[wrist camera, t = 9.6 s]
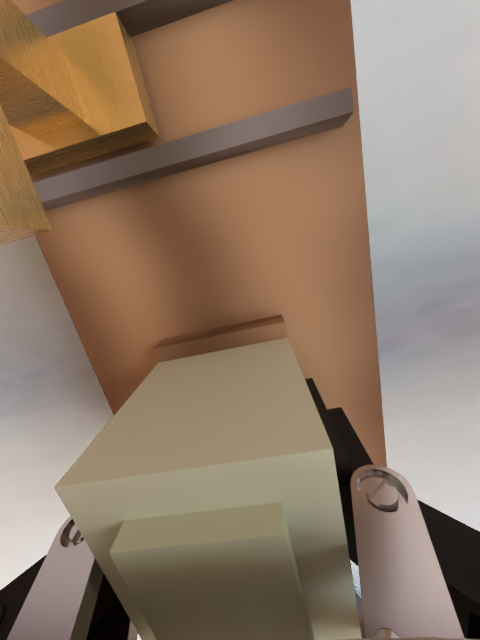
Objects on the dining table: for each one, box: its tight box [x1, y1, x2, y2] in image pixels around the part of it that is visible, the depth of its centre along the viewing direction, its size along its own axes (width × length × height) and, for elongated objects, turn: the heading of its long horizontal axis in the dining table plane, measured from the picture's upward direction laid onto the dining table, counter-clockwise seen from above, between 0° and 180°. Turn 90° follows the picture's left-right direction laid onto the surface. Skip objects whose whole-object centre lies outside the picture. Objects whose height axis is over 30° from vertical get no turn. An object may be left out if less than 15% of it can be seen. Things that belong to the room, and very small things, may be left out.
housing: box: [12, 0, 387, 467], centre depth 11 cm, size 12×22×6 cm, turn 13°
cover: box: [55, 338, 362, 640], centre depth 8 cm, size 5×7×6 cm
